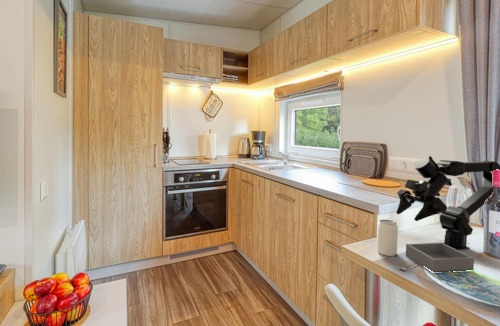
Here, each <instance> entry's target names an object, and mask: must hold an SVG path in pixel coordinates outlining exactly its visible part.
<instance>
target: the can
mask: <svg viewBox="0 0 500 326" xmlns="http://www.w3.org/2000/svg"><path fill="white" fill-rule="evenodd" d="M377 228H378V229H377V253H379V255H382V256H385V257H394V256H397V254H398V232H399V231H398V224H397V221H394V220H390V219H379V223H378V226H377Z"/></svg>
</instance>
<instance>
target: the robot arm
mask: <svg viewBox="0 0 500 326" xmlns="http://www.w3.org/2000/svg"><path fill="white" fill-rule="evenodd" d="M413 167H414V169H415V170H416V171H417V172H418V173H419V175H420V176H421V177H422V178H424V179H426V180H423V179H421V180H420V181H418V180H414V179H409V178H408V179H407V180H406V182H405V185H404V188H406V189H409V190H406V189H403V188H402V189H399V190H398V191H397V192H396V194H397V195H398V198H399V204H398V206H397V210H396V214H397V215H400V214H402V213H403V212H404V211H406V210H408V209H409V208H411V207H412V205H413V204H415V202H418V203H421V204H422V208H421V209H420V210H419V211H418V213H417V214H416V215H415V217H414V218H413V219H414V221H415V222H418V221H420V220H423V219H427V218H429V217H431V216H435V215H439V222H440V225H441V229H444V230H445V234H444V242H442V243H443V244H446V245H448V246H450V247H452V248H454V249H456V250H458V251H460V250H470V247H468V246H467V242H468V241H467V240H468V239H467V238H468V237H467V236H469V235H470V236H471V235H472V234H473V231H474V229H473V227H472V226H471V225H470V219H471V216H472V215H473V214H474V213H476V212H477V211H478V210H479V209H481V207H483V206H484V205H485V204H484V202H485V200H486V199H487V198H488V197H489V196H490V195H491V194H492V192H493V186H492V173H493V170H496V169H499V170H500V164H499V162H496V161H492V160H491V161H490V160H484V161H466V162H463V161H458V160H446V159H441V160H439V161H438V162H435V160H434V159H433V157H432V156H431V155H425V156H424V157H421V158H420V159H418V160H415V162H414V163H413ZM481 172H482V178H483V179H484V180H483V186H481V187H480V188H479V189H478V190H476V191H475V192H474V193H473V194H471V195H470V196H469V197H468V198H466V200H464V201H463V202H462V203H461V204H459V205H458V206H453V205H449V206H447V205H446V203H445V202H444V201H443V200H442V199H441V198H440V196H441V193H440V192H441V190H442V189H443V188H444V187H445V186H446V187H447V186H449V187H452V186H453V185H452V184H453V183H452V179H451V178H448V177H447V176H450V177H458V176H459V177H460V176H463V175H464V174H466V173H481ZM410 190H411V192H410Z"/></svg>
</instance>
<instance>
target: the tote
mask: <svg viewBox="0 0 500 326" xmlns="http://www.w3.org/2000/svg"><path fill="white" fill-rule="evenodd" d="M443 243H444V242H425V243H424V242H423V243H422V242H419V243H406V244H405V257H406V258H408V259H410V260H411V261H412V262H414V263H416V264H418V265H419V266H421V267H422V268H424V267H423V266H425V267H427V268H428V269H430V270H431V271H433V272H449V271H450V272H453V271H466V270H473V271H474V269H475V268H474V264H475V257H473V256H471V255H468V254H466V253H464V252H463V251H460V250H456V249H454V248H452V247H450V246H448V245H446V244H443Z"/></svg>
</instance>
